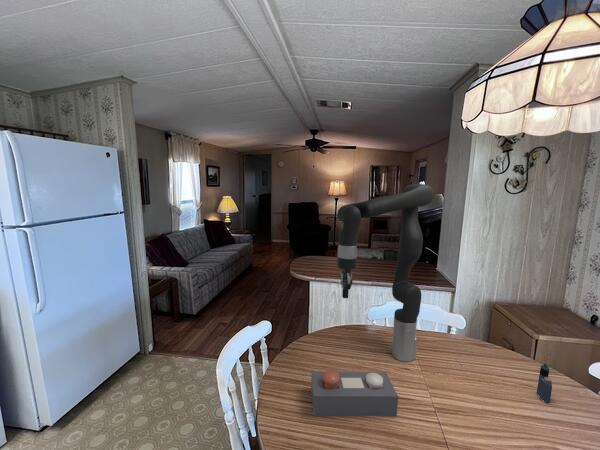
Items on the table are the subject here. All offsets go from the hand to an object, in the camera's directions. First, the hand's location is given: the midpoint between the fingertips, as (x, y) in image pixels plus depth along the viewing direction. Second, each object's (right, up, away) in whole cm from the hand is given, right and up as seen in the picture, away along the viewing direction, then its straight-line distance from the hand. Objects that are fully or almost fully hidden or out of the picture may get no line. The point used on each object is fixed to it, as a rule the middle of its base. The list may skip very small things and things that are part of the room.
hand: (345, 297), depth 113 cm
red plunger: (-8, -29, -18) cm, 35 cm away
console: (-1, -31, -17) cm, 36 cm away
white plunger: (+7, -30, -17) cm, 35 cm away
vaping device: (+69, -33, -13) cm, 77 cm away
